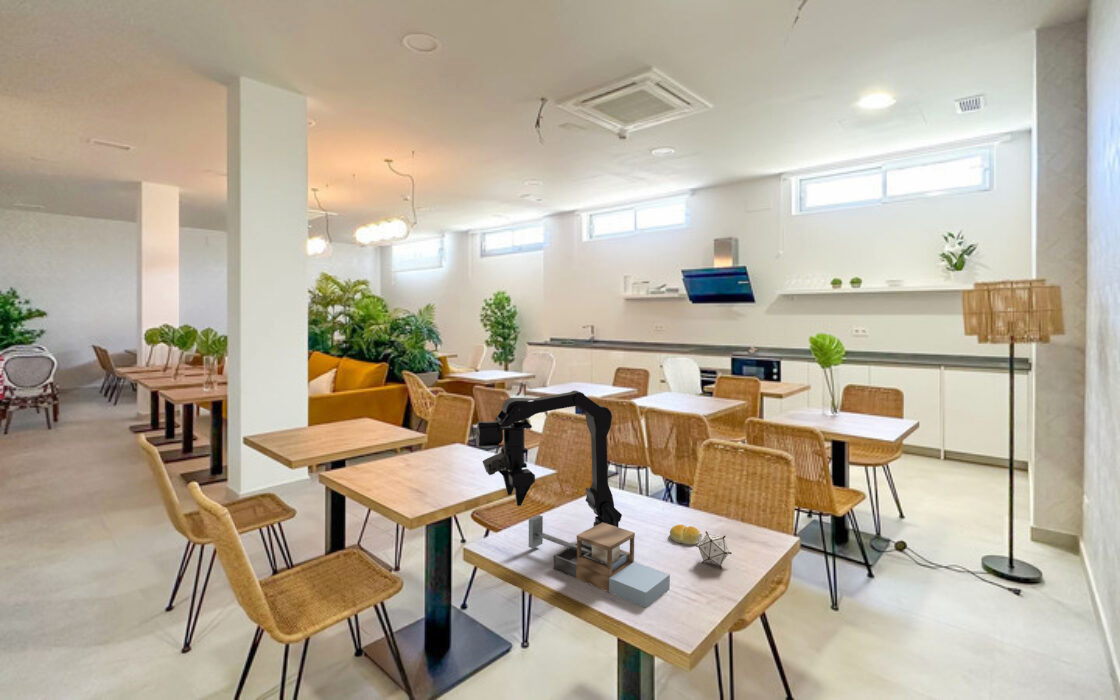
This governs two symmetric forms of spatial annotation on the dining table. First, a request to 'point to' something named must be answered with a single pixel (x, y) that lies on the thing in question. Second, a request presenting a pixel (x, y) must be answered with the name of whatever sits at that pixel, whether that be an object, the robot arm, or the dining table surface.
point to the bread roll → (685, 535)
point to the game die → (713, 549)
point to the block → (605, 553)
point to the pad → (639, 584)
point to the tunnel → (597, 536)
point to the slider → (564, 542)
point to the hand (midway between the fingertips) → (514, 500)
